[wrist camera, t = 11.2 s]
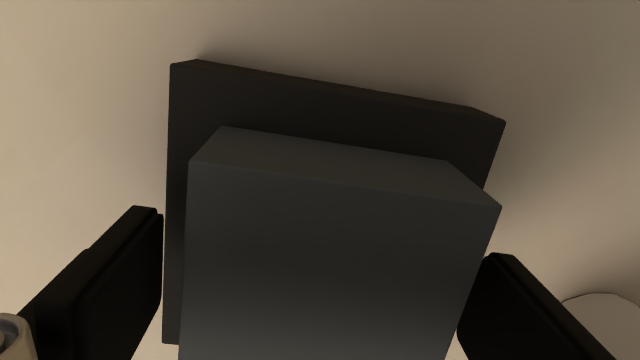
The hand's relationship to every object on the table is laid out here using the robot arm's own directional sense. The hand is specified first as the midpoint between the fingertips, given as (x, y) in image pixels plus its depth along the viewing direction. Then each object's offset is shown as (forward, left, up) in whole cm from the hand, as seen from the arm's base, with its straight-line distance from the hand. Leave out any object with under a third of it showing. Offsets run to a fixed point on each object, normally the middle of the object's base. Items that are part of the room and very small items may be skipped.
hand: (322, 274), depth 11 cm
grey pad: (0, 0, -2) cm, 2 cm away
